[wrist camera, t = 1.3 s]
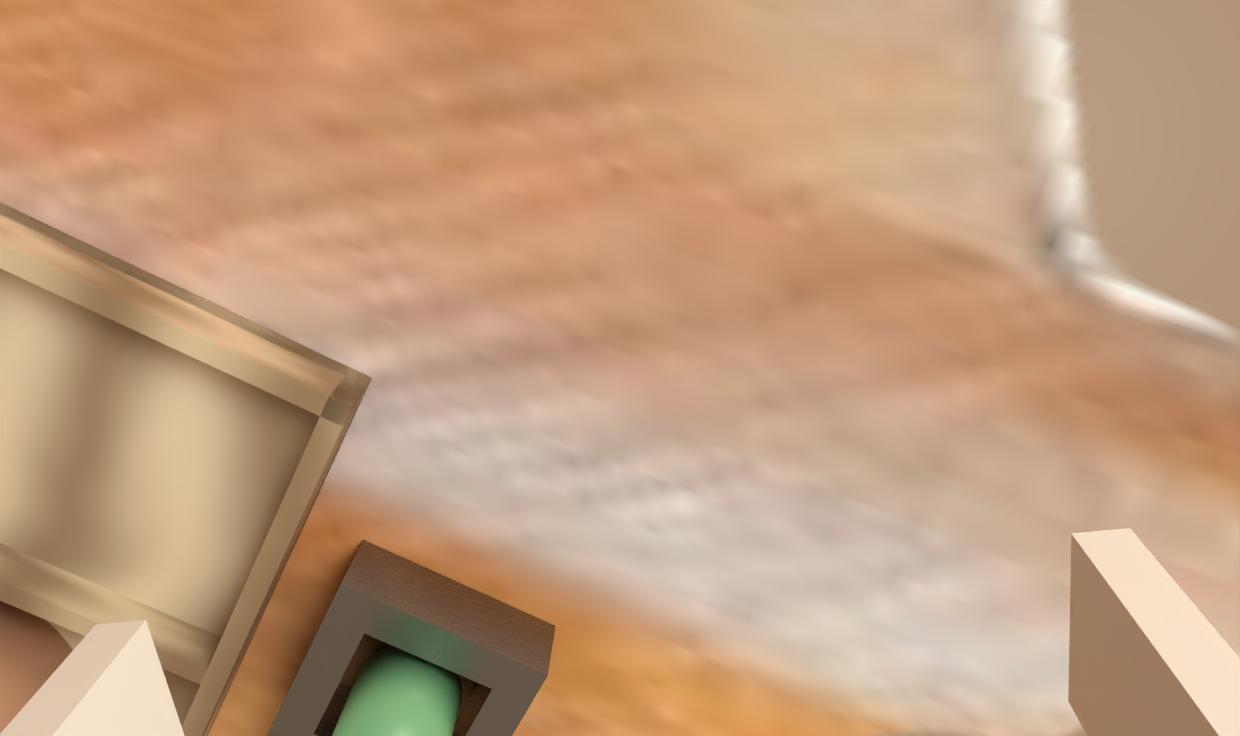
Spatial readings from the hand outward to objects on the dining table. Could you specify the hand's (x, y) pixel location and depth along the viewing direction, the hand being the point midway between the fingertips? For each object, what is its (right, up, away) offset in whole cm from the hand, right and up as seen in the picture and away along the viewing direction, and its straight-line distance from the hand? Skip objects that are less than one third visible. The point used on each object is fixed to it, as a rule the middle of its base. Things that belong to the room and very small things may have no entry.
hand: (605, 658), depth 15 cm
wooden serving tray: (-22, -3, +25) cm, 33 cm away
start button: (-8, -8, +25) cm, 27 cm away
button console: (-8, -7, +26) cm, 28 cm away
